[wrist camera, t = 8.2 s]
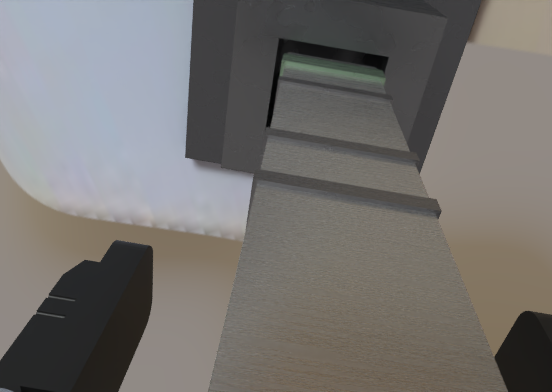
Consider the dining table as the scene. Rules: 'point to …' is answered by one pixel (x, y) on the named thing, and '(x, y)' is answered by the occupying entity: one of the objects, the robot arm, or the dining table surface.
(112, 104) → the dining table surface
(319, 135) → the column
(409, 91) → the sleeve
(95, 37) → the dining table surface
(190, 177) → the dining table surface
